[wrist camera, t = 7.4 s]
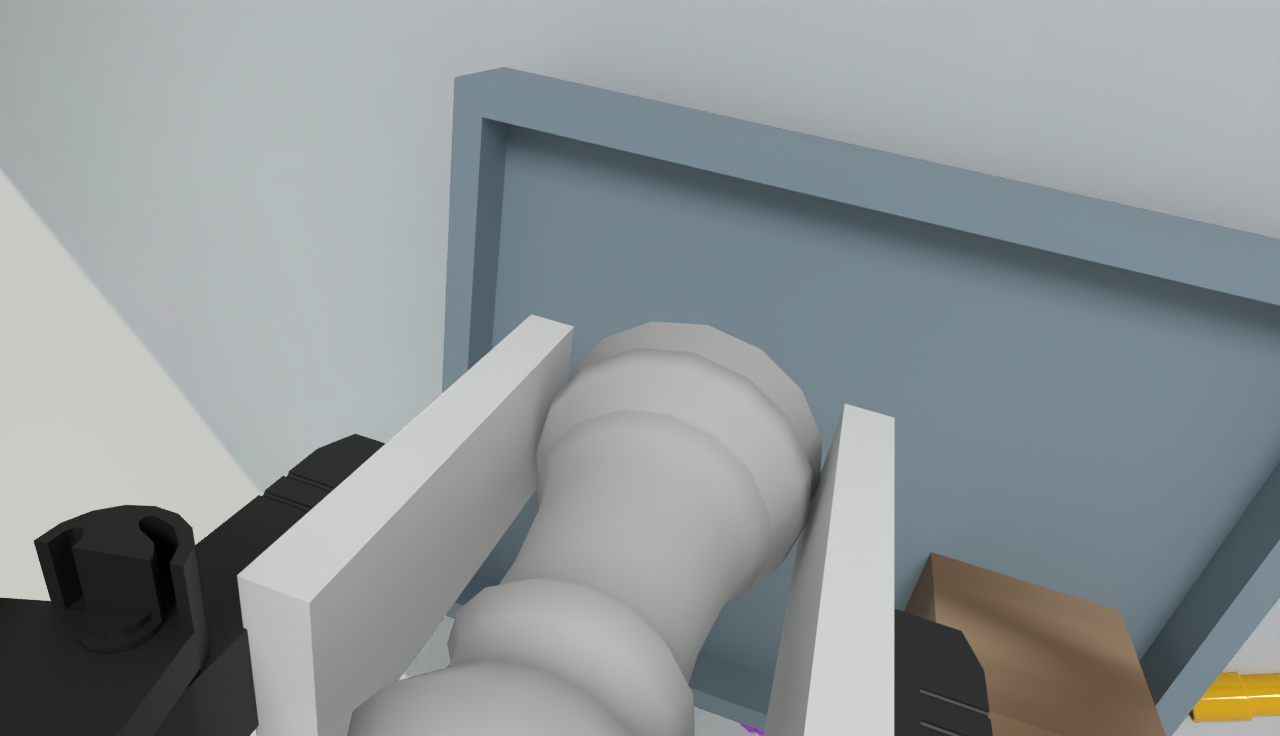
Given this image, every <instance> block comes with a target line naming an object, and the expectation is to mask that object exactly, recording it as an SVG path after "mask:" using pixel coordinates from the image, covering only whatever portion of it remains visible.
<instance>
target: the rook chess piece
mask: <svg viewBox="0 0 1280 736" xmlns="http://www.w3.org/2000/svg"><path fill="white" fill-rule="evenodd" d="M821 455H822V437H821V435H820V433H819V430H818V428H817V425H816V423H815V420H814V418H813V416H812V413H811V411H810V408H809V406H808V404H807V401H806V399H805V396H804V394H803V391H802V390H801V389H800V388H799V387H798V386H797V385H796V384H795V383H794V382H793V381H792V380H791V379H790V378H789V377H788V376H787V375H786V374H785V373H784V372H783V371H782V370H781V369H780V368H779V367H778V366H777V365H776V364H775V363H774V362H773V361H772V360H771V359H770V358H769V357H768V356H767V355H766V354H765V353H764V352H763V351H762V350H761V349H759V348H757V347H755V346H753V345H751V344H748V343H746V342H744V341H742V340H740V339H737V338H735V337H733V336H731V335H729V334H726V333H724V332H722V331H720V330H718V329H715V328H713V327H711V326H709V325H700V324H684V323H668V322H649V323H646V324H643V325H640V326H637V327H634V328H632V329H629V330H626V331H623V332H620V333H617V334H614V335H611V336H609V337H606V338H603V339H602V340H601V341H600V342H599V343H598V344H597V345H596V346H595V347H594V348H593V349H592V350H591V351H590V352H589V353H588V354H587V355H586V356H585V357H584V358H583V359H582V360H581V361H580V362H579V363H578V364H577V365H576V366H575V367H574V368H573V369H572V370H571V372H570V375H569V378H568V381H567V384H566V385H565V386H564V387H563V388H562V389H561V390H560V391H559V392H558V393H557V394H556V395H555V396H554V397H553V400H552V403H551V406H550V409H549V412H548V415H547V418H546V421H545V424H544V427H543V430H542V433H541V436H540V439H539V443H538V447H537V450H536V459H537V467H538V475H539V477H538V480H537V483H536V489H537V497H538V504H539V511H538V513H537V515H536V517H535V519H534V522H533V524H532V526H531V528H530V530H529V532H528V534H527V537H526V539H525V541H524V543H523V545H522V547H521V550H520V552H519V554H518V556H517V558H516V560H515V562H514V564H513V565H512V566H511V568H510V569H509V571H508V572H507V574H506V575H505V577H504V578H503V579H502V581H501V582H500V584H499V585H497V586H491V587H486V588H484V589H483V590H482V591H481V592H479V593H478V594H477V595H476V596H475V597H473V598H472V599H471V600H470V601H469V602H467V603H466V604H465V605H464V606H462V607H461V608H460V609H459V610H458V611H457V614H456V617H455V620H454V623H453V627H452V630H451V633H450V637H449V640H448V643H447V644H448V649H449V654H450V659H451V662H450V664H449V665H448V666H447V667H446V668H444V669H440V670H437V671H433V672H429V673H426V674H422V675H418V676H415V677H411V678H407V679H403V680H400V681H396V682H392V683H389V684H386V685H385V686H383V687H382V688H381V689H380V690H378V691H377V692H376V693H375V694H373V695H372V696H371V697H370V698H368V699H367V700H366V701H365V702H363V703H362V704H361V705H360V706H358V707H357V708H356V709H355V710H353V711H352V716H351V720H350V725H349V729H348V734H347V736H693V735H694V706H693V693H692V691H691V689H690V687H689V686H688V684H689V681H690V678H691V675H692V672H693V669H694V665H695V662H696V659H697V656H698V653H699V651H700V649H701V647H702V645H703V644H704V642H705V640H706V638H707V636H708V634H709V632H710V630H711V628H712V626H713V624H714V622H715V620H716V619H717V617H718V615H719V613H720V611H721V609H722V608H723V606H725V605H726V604H728V603H730V602H731V601H733V600H734V599H736V598H738V597H739V596H741V595H742V594H744V593H746V592H747V591H749V590H750V589H751V587H752V585H754V584H755V583H757V582H758V581H760V580H762V579H763V578H765V577H767V576H768V575H770V574H771V573H773V572H775V571H776V570H777V569H778V568H779V566H780V565H781V564H782V562H783V561H784V560H785V558H786V557H787V555H788V554H789V552H790V550H791V549H792V547H793V545H794V544H795V542H796V540H797V539H798V537H799V535H800V534H801V532H802V530H803V529H804V527H805V525H806V524H807V522H808V520H809V517H810V503H811V501H812V500H813V498H814V496H815V493H816V491H817V488H818V485H819V482H820V473H821Z"/></svg>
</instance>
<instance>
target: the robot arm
mask: <svg viewBox="0 0 1280 736" xmlns="http://www.w3.org/2000/svg"><path fill="white" fill-rule="evenodd" d="M573 332H574V326H571V325H567V324H563V323H560V322H556V321H553V320H549V319H546V318H542V317H539V316H535V315H532V314H531V315H530V316H529V317H528V318H527V319H526V320H525V321H523V322H522V323H521V324H520V325H519V326H518V327H517V328H516V329H514V330H513V331H512V332H511V333H510V334H509V335H508V336H507V337H505V338H504V339H503V340H502V341H501V342H500V343H499V344H498V345H496V346H495V347H494V348H493V349H492V350H491V351H490V352H489V353H487V354H486V355H485V356H484V357H483V358H482V359H481V360H479V361H478V362H477V363H476V364H475V365H474V366H473V367H472V368H470V369H469V370H468V371H467V372H466V373H465V374H464V375H463V376H461V377H460V378H459V379H458V380H457V381H456V382H455V383H454V384H452V385H451V386H450V387H449V388H448V389H447V390H446V391H445V392H443V393H442V394H441V395H440V396H439V397H438V398H437V399H435V400H434V401H433V402H432V403H431V404H430V405H429V406H428V407H426V408H425V409H424V410H423V411H422V412H421V413H420V414H419V415H417V416H416V417H415V418H414V419H413V420H412V421H411V422H410V423H408V424H407V425H406V426H405V427H404V428H403V429H402V430H401V431H399V432H398V433H397V434H396V435H395V436H394V437H393V438H391V439H390V440H389V441H388V442H387V443H386V444H385V443H382V442H379V441H376V440H373V439H370V438H367V437H364V436H361V435H357V434H354V435H351V436H349V437H346V438H343V439H341V440H338V441H336V442H333V443H331V444H328V445H326V446H323V447H321V448H318V449H317V450H315V451H314V452H313V453H312V454H310V455H309V456H308V457H306V458H305V459H304V460H303V461H301V462H300V463H299V464H298V465H296V466H295V467H294V468H293V469H291V470H290V471H289V474H288V476H287V477H285V476H282V477H281V478H280V479H279V480H277V481H276V482H275V483H274V484H272V485H271V486H270V487H269V488H267V489H266V490H265V493H264V495H263V496H259V495H258V496H257V497H256V498H255V499H253V500H252V501H251V502H250V503H248V504H247V505H246V506H244V507H243V508H242V509H241V510H239V511H238V512H237V513H236V514H234V515H233V516H232V517H231V518H229V519H228V520H227V521H226V522H225V523H223V524H222V525H220V526H219V527H218V528H217V529H215V530H214V531H213V532H212V533H210V534H209V535H208V536H207V537H205V538H204V539H203V540H201V541H200V542H199V543H198V544H196V545H195V542H194V536H193V530H192V527H191V526H190V525H189V524H188V523H187V522H186V521H185V520H184V519H183V518H182V517H181V516H180V515H179V514H177V513H174V512H171V511H168V510H165V509H162V508H159V507H156V506H136V505H135V506H134V505H123V506H118V507H112V508H106V509H100V510H94V511H91V512H89V513H86V514H83V515H80V516H78V517H75V518H73V519H70V520H67V521H65V522H62V523H60V524H58V525H57V526H55V527H54V528H52V529H51V530H49V531H48V532H46V533H45V534H43V535H42V536H40V537H39V538H37V539H36V540H34V544H35V547H36V551H37V554H38V558H39V561H40V565H41V568H42V572H43V575H44V579H45V582H46V586H47V589H48V592H49V596H50V599H51V601H40V600H26V599H11V598H0V736H250V734H251V733H252V732H253V731H254V730H255V729H256V734H257V736H347V734H348V729H349V725H350V720H351V716H352V711H353V710H355V709H356V708H357V707H358V706H360V705H361V704H362V703H363V702H365V701H366V700H367V699H368V698H370V697H371V696H372V695H373V694H375V693H376V692H377V691H378V690H380V689H381V688H382V687H383V686H385V685H386V684H389V683H392V682H396V681H398V680H399V679H400V677H401V676H402V675H403V673H404V672H405V670H406V669H407V668H408V666H409V665H410V664H411V662H412V661H413V659H414V658H415V657H416V655H417V654H418V652H419V651H420V650H421V648H422V647H423V646H424V644H425V643H426V641H427V640H428V639H429V637H430V636H431V634H432V633H433V632H434V630H435V629H436V627H437V626H438V625H439V623H440V622H441V621H442V619H443V618H444V616H445V615H446V614H447V612H448V611H449V609H450V608H451V607H452V605H453V604H454V603H455V601H456V600H457V598H458V597H459V596H460V594H461V593H462V591H463V590H464V589H465V587H466V586H467V584H468V583H469V582H470V580H471V579H472V578H473V576H474V575H475V573H476V572H477V571H478V569H479V568H480V566H481V565H482V564H483V562H484V561H485V560H486V558H487V557H488V555H489V554H490V553H491V551H492V550H493V548H494V547H495V546H496V544H497V543H498V541H499V540H500V539H501V537H502V536H503V535H504V533H505V532H506V530H507V529H508V528H509V526H510V525H511V523H512V522H513V521H514V519H515V518H516V517H517V515H518V514H519V512H520V511H521V510H522V508H523V507H524V505H525V504H526V503H527V501H528V500H529V498H530V497H531V496H532V494H533V493H534V492H535V490H536V483H537V480H538V477H539V475H538V467H537V459H536V450H537V447H538V443H539V439H540V436H541V433H542V430H543V427H544V424H545V421H546V418H547V415H548V412H549V409H550V406H551V403H552V400H553V397H554V396H555V395H556V394H557V393H558V392H559V391H560V390H561V389H562V388H563V387H564V386H565V385H566V384H567V377H568V369H569V362H570V354H571V347H572V340H573ZM894 458H895V418H894V417H890V416H887V415H883V414H880V413H876V412H873V411H869V410H866V409H862V408H859V407H855V406H852V405H848V404H844V407H843V410H842V413H841V416H840V419H839V421H838V424H837V427H836V430H835V433H834V436H833V439H832V442H831V445H830V448H829V451H828V454H827V457H826V460H825V462H824V465H823V468H822V471H821V474H820V482H819V485H818V488H817V491H816V493H815V496H814V498H813V500H812V501H811V503H810V517H809V520H808V522H807V524H806V525H805V527H804V529H803V530H802V532H801V534H800V536H799V539H798V544H797V549H796V555H795V561H794V566H793V572H792V578H791V583H790V589H789V595H788V600H787V606H786V612H785V617H784V623H783V628H782V634H781V640H780V645H779V651H778V657H777V662H776V668H775V674H774V679H773V685H772V691H771V696H770V702H769V707H768V713H767V719H766V724H765V730H764V736H993V733H992V725H991V719H989V718H988V715H989V711H990V710H989V702H988V695H987V687H986V680H985V672H984V669H983V667H982V666H981V664H980V662H979V660H978V659H977V657H976V655H975V653H974V652H973V650H972V648H971V646H970V645H969V643H968V641H967V639H966V638H965V636H964V634H963V632H962V631H961V630H958V629H955V628H951V627H948V626H945V625H942V624H939V623H936V622H933V621H930V620H927V619H924V618H921V617H918V616H915V615H912V614H909V613H906V612H903V611H900V610H897V609H894Z"/></svg>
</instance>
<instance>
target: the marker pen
mask: <svg viewBox="0 0 1280 736" xmlns="http://www.w3.org/2000/svg"><path fill="white" fill-rule="evenodd" d="M1189 715H1190V717H1191V719H1192V721H1193V722H1195V723H1202V722H1237V721H1251V720H1252V717H1260V716H1280V673H1274V674H1252V675H1239V674H1238V673H1237V672H1228V673H1220V675H1219V676H1218V677H1217V678H1216V680H1215V681H1214V682H1213V684H1212V685H1211V686H1210V687H1209V689H1208V690H1207V691H1206V692H1205V694H1204V695H1203V696H1202V698H1201V699H1200V700H1199V701H1198V703H1197V704H1196V705H1195V707H1194V708H1193V709H1192V710H1191V712H1190V713H1189ZM741 725H742V726H743V727H744V728H746V729H747V730H748V731H749V732H751V733H755V732H757V733H758V734H759V735H761V736H764V731H761V730H758V729H755V728H753V727H750V726H747V725H744V724H742V723H741Z"/></svg>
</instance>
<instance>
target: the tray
mask: <svg viewBox="0 0 1280 736" xmlns="http://www.w3.org/2000/svg"><path fill="white" fill-rule="evenodd" d="M531 314H532V315H535V316H539V317H542V318H546V319H549V320H553V321H556V322H560V323H563V324H567V325H571V326H574V332H573V340H572V347H571V354H570V362H569V369H568V377H567V381H568V378H569V375H570V372H571V370H572V369H573V368H574V367H575V366H576V365H577V364H578V363H579V362H580V361H581V360H582V359H583V358H584V357H585V356H586V355H587V354H588V353H589V352H590V351H591V350H592V349H593V348H594V347H595V346H596V345H597V344H598V343H599V342H600V341H601V340H602V339H603V338H606V337H609V336H611V335H614V334H617V333H620V332H623V331H626V330H629V329H632V328H634V327H637V326H640V325H643V324H646V323H649V322H668V323H684V324H700V325H709V326H711V327H713V328H715V329H718V330H720V331H722V332H724V333H726V334H729V335H731V336H733V337H735V338H737V339H740V340H742V341H744V342H746V343H748V344H751V345H753V346H755V347H757V348H759V349H761V350H762V351H763V352H764V353H765V354H766V355H767V356H768V357H769V358H770V359H771V360H772V361H773V362H774V363H775V364H776V365H777V366H778V367H779V368H780V369H781V370H782V371H783V372H784V373H785V374H786V375H787V376H788V377H789V378H790V379H791V380H792V381H793V382H794V383H795V384H796V385H797V386H798V387H799V388H800V389H801V390H802V391H803V394H804V396H805V399H806V401H807V404H808V406H809V408H810V411H811V413H812V416H813V418H814V420H815V423H816V425H817V428H818V430H819V433H820V435H821V437H822V455H821V471H822V468H823V465H824V462H825V460H826V457H827V454H828V451H829V448H830V445H831V442H832V439H833V436H834V433H835V430H836V427H837V424H838V421H839V419H840V416H841V413H842V410H843V407H844V404H848V405H852V406H855V407H859V408H862V409H866V410H869V411H873V412H876V413H880V414H883V415H887V416H890V417H894V418H895V458H894V609H897V610H900V611H903V612H904V610H905V608H906V606H907V604H908V602H909V599H910V597H911V595H912V593H913V591H914V589H915V586H916V584H917V582H918V580H919V578H920V575H921V573H922V571H923V569H924V567H925V565H926V562H927V560H928V558H929V556H930V554H931V552H933V553H936V554H939V555H942V556H946V557H949V558H952V559H955V560H959V561H962V562H965V563H968V564H971V565H975V566H978V567H981V568H984V569H987V570H991V571H994V572H997V573H1000V574H1004V575H1007V576H1010V577H1013V578H1016V579H1020V580H1023V581H1026V582H1029V583H1032V584H1036V585H1039V586H1042V587H1045V588H1049V589H1052V590H1055V591H1058V592H1061V593H1065V594H1068V595H1071V596H1074V597H1077V598H1081V599H1084V600H1087V601H1090V602H1094V603H1097V604H1100V605H1103V606H1106V607H1110V608H1113V609H1116V610H1119V611H1121V614H1122V616H1123V619H1124V622H1125V625H1126V627H1127V630H1128V633H1129V636H1130V638H1131V641H1132V644H1133V647H1134V649H1135V652H1136V655H1137V658H1138V660H1139V663H1140V666H1141V668H1142V671H1143V674H1144V677H1145V679H1146V682H1147V685H1148V688H1149V690H1150V693H1151V696H1152V699H1153V701H1154V704H1155V707H1156V710H1157V712H1158V715H1159V718H1160V721H1161V723H1162V726H1163V729H1164V732H1165V734H1166V736H1172V735H1173V733H1174V732H1175V731H1176V729H1177V728H1178V727H1179V726H1180V724H1181V723H1182V722H1183V721H1184V719H1185V718H1186V717H1187V715H1188V714H1189V713H1190V712H1191V710H1192V709H1193V708H1194V707H1195V705H1196V704H1197V703H1198V701H1199V700H1200V699H1201V698H1202V696H1203V695H1204V694H1205V692H1206V691H1207V690H1208V689H1209V687H1210V686H1211V685H1212V684H1213V682H1214V681H1215V680H1216V678H1217V677H1218V676H1219V675H1220V673H1221V672H1222V671H1223V670H1224V668H1225V667H1226V666H1227V664H1228V663H1229V662H1230V661H1231V659H1232V658H1233V657H1234V655H1235V654H1236V653H1237V652H1238V650H1239V649H1240V648H1241V647H1242V645H1243V644H1244V643H1245V641H1246V640H1247V639H1248V638H1249V636H1250V635H1251V634H1252V633H1253V631H1254V630H1255V629H1256V627H1257V626H1258V625H1259V624H1260V622H1261V621H1262V620H1263V618H1264V617H1265V616H1266V615H1267V613H1268V612H1269V611H1270V610H1271V608H1272V607H1273V606H1274V604H1275V603H1276V602H1277V601H1278V599H1279V598H1280V239H1275V238H1271V237H1266V236H1262V235H1257V234H1253V233H1248V232H1244V231H1239V230H1235V229H1230V228H1226V227H1221V226H1217V225H1212V224H1208V223H1203V222H1199V221H1194V220H1190V219H1185V218H1181V217H1176V216H1172V215H1167V214H1163V213H1158V212H1154V211H1149V210H1145V209H1140V208H1136V207H1131V206H1127V205H1122V204H1118V203H1113V202H1109V201H1104V200H1100V199H1095V198H1091V197H1086V196H1082V195H1077V194H1073V193H1068V192H1064V191H1059V190H1055V189H1050V188H1046V187H1041V186H1037V185H1032V184H1028V183H1023V182H1019V181H1014V180H1010V179H1005V178H1001V177H996V176H992V175H987V174H983V173H978V172H973V171H969V170H964V169H960V168H955V167H951V166H946V165H942V164H937V163H933V162H928V161H924V160H919V159H915V158H910V157H906V156H901V155H897V154H892V153H888V152H883V151H879V150H874V149H870V148H865V147H861V146H856V145H852V144H847V143H843V142H838V141H834V140H829V139H825V138H820V137H816V136H811V135H807V134H802V133H798V132H793V131H789V130H784V129H780V128H775V127H771V126H766V125H762V124H757V123H753V122H748V121H744V120H739V119H735V118H730V117H726V116H721V115H717V114H712V113H708V112H703V111H699V110H694V109H690V108H685V107H681V106H676V105H672V104H667V103H663V102H658V101H654V100H649V99H645V98H640V97H636V96H631V95H627V94H622V93H618V92H613V91H609V90H604V89H600V88H595V87H591V86H586V85H582V84H577V83H573V82H568V81H564V80H559V79H555V78H550V77H546V76H541V75H537V74H532V73H528V72H523V71H519V70H514V69H510V68H505V67H503V68H498V69H493V70H488V71H483V72H478V73H474V74H469V75H464V76H459V77H455V84H454V109H453V134H452V159H451V185H450V210H449V235H448V260H447V285H446V311H445V336H444V361H443V386H442V393H443V392H445V391H446V390H447V389H448V388H449V387H450V386H451V385H452V384H454V383H455V382H456V381H457V380H458V379H459V378H460V377H461V376H463V375H464V374H465V373H466V372H467V371H468V370H469V369H470V368H472V367H473V366H474V365H475V364H476V363H477V362H478V361H479V360H481V359H482V358H483V357H484V356H485V355H486V354H487V353H489V352H490V351H491V350H492V349H493V348H494V347H495V346H496V345H498V344H499V343H500V342H501V341H502V340H503V339H504V338H505V337H507V336H508V335H509V334H510V333H511V332H512V331H513V330H514V329H516V328H517V327H518V326H519V325H520V324H521V323H522V322H523V321H525V320H526V319H527V318H528V317H529V316H530V315H531ZM820 474H821V473H820ZM538 511H539V504H538V497H537V489H536V490H535V492H534V493H533V494H532V496H531V497H530V498H529V500H528V501H527V503H526V504H525V505H524V507H523V508H522V510H521V511H520V512H519V514H518V515H517V517H516V518H515V519H514V521H513V522H512V523H511V525H510V526H509V528H508V529H507V530H506V532H505V533H504V535H503V536H502V537H501V539H500V540H499V541H498V543H497V544H496V546H495V547H494V548H493V550H492V551H491V553H490V554H489V555H488V557H487V558H486V560H485V561H484V562H483V564H482V565H481V566H480V568H479V569H478V571H477V572H476V573H475V575H474V576H473V578H472V579H471V580H470V582H469V583H468V584H467V586H466V587H465V589H464V590H463V591H462V593H461V594H460V596H459V597H458V598H457V600H456V601H455V603H454V604H453V605H452V607H451V608H450V609H449V611H448V612H447V614H446V615H447V616H449V617H452V618H455V617H456V614H457V611H458V610H459V609H460V608H461V607H462V606H464V605H465V604H466V603H467V602H469V601H470V600H471V599H472V598H473V597H475V596H476V595H477V594H478V593H479V592H481V591H482V590H483V589H484V588H486V587H491V586H497V585H499V584H500V582H501V581H502V579H503V578H504V577H505V575H506V574H507V572H508V571H509V569H510V568H511V566H512V565H513V564H514V562H515V560H516V558H517V556H518V554H519V552H520V550H521V547H522V545H523V543H524V541H525V539H526V537H527V534H528V532H529V530H530V528H531V526H532V524H533V522H534V519H535V517H536V515H537V513H538ZM799 536H800V535H799ZM798 539H799V537H798ZM798 539H797V540H796V542H795V544H794V545H793V547H792V549H791V550H790V552H789V554H788V555H787V557H786V558H785V560H784V561H783V562H782V564H781V565H780V566H779V568H778V569H777V570H776V571H775V572H773V573H771V574H770V575H768V576H767V577H765V578H763V579H762V580H760V581H758V582H757V583H755V584H754V585H752V587H751V589H750V590H749V591H747V592H746V593H744V594H742V595H741V596H739V597H738V598H736V599H734V600H733V601H731V602H730V603H728V604H726V605H725V606H723V608H722V609H721V611H720V613H719V615H718V617H717V619H716V620H715V622H714V624H713V626H712V628H711V630H710V632H709V634H708V636H707V638H706V640H705V642H704V644H703V645H702V647H701V649H700V651H699V653H698V656H697V659H696V662H695V665H694V669H693V672H692V675H691V678H690V681H689V684H688V686H689V687H690V689H691V691H692V693H693V706H695V707H698V708H701V709H703V710H706V711H709V712H712V713H714V714H717V715H720V716H723V717H725V718H728V719H731V720H733V721H736V722H739V723H742V724H744V725H747V726H750V727H753V728H755V729H758V730H761V731H764V730H765V724H766V719H767V713H768V707H769V702H770V696H771V691H772V685H773V679H774V674H775V668H776V662H777V657H778V651H779V645H780V640H781V634H782V628H783V623H784V617H785V612H786V606H787V600H788V595H789V589H790V583H791V578H792V572H793V566H794V561H795V555H796V549H797V544H798Z"/></svg>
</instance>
